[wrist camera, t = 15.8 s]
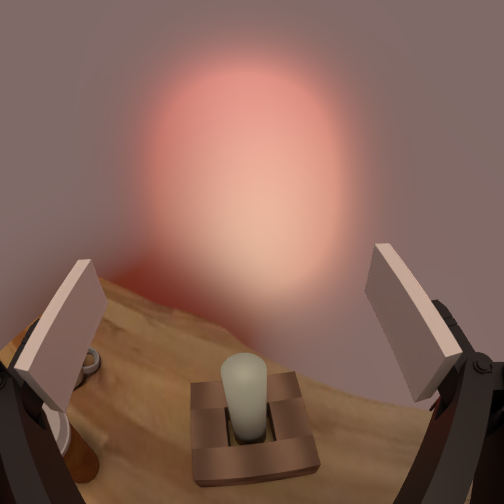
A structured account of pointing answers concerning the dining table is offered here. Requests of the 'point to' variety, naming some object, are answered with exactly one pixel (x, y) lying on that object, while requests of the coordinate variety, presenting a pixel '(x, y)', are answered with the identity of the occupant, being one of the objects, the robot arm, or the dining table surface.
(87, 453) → the disposable coffee cup
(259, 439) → the peg
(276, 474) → the socket block
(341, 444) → the dining table surface
